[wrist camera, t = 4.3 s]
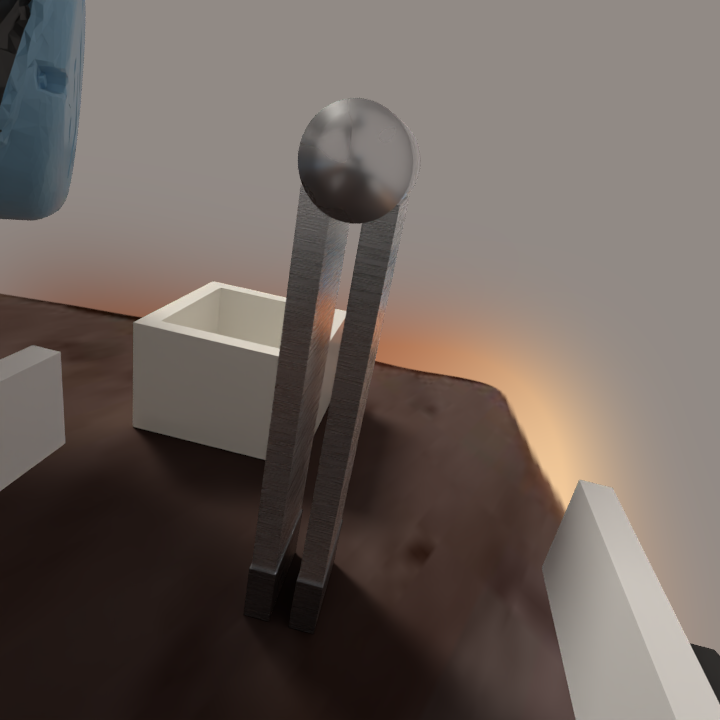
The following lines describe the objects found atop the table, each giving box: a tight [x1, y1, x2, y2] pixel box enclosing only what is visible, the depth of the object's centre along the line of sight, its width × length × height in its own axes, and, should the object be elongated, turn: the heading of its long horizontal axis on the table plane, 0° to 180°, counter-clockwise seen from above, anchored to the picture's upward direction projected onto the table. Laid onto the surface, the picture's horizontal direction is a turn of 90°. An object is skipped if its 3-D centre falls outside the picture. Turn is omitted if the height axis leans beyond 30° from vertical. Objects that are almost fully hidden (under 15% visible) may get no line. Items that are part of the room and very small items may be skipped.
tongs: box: [244, 98, 421, 634], centre depth 18 cm, size 3×5×18 cm, turn 171°
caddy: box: [133, 281, 346, 460], centre depth 33 cm, size 10×10×6 cm
